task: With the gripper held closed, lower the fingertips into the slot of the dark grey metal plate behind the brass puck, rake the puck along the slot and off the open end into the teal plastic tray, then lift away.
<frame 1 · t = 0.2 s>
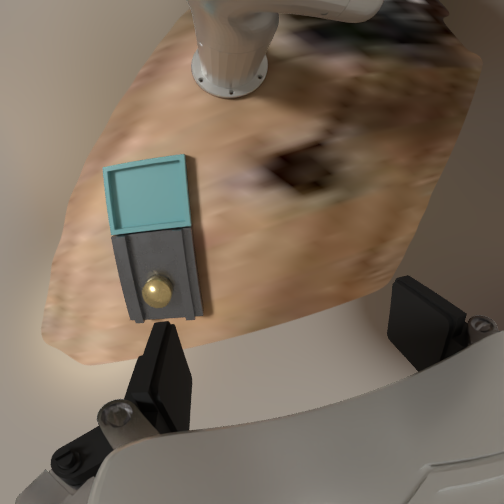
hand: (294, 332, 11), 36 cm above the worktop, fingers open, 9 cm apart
brass puck: (159, 288, 45), point 2 cm above the worktop, touching slot plate
slot plate: (159, 273, 47), on the worktop
tray: (147, 194, 42), on the worktop
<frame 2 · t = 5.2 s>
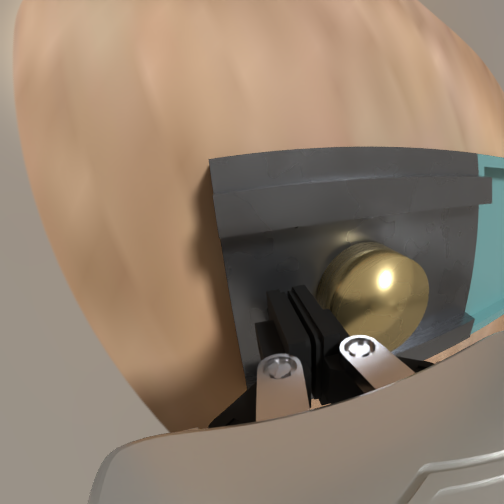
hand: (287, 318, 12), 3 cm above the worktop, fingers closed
brass puck: (362, 289, 13), point 2 cm above the worktop, touching gripper, slot plate
slot plate: (368, 271, 15), on the worktop
tray: (494, 240, 16), on the worktop
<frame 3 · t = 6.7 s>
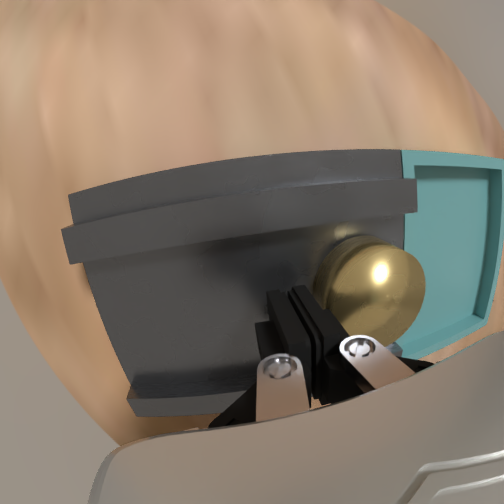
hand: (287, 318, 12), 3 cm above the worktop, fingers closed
brass puck: (359, 283, 13), point 2 cm above the worktop, touching gripper, slot plate
slot plate: (253, 293, 15), on the worktop
tray: (447, 253, 16), on the worktop
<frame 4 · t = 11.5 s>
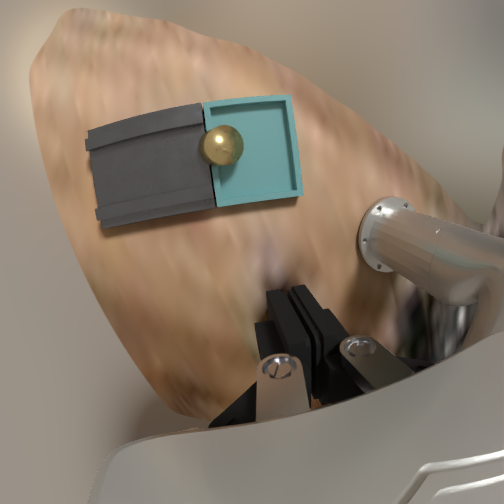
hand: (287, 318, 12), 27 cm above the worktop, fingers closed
brass puck: (216, 147, 33), point 2 cm above the worktop, tilted 29°, touching tray
slot plate: (150, 166, 34), on the worktop
tray: (252, 148, 35), on the worktop
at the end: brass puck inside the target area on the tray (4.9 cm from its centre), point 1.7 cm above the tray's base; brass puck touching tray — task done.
